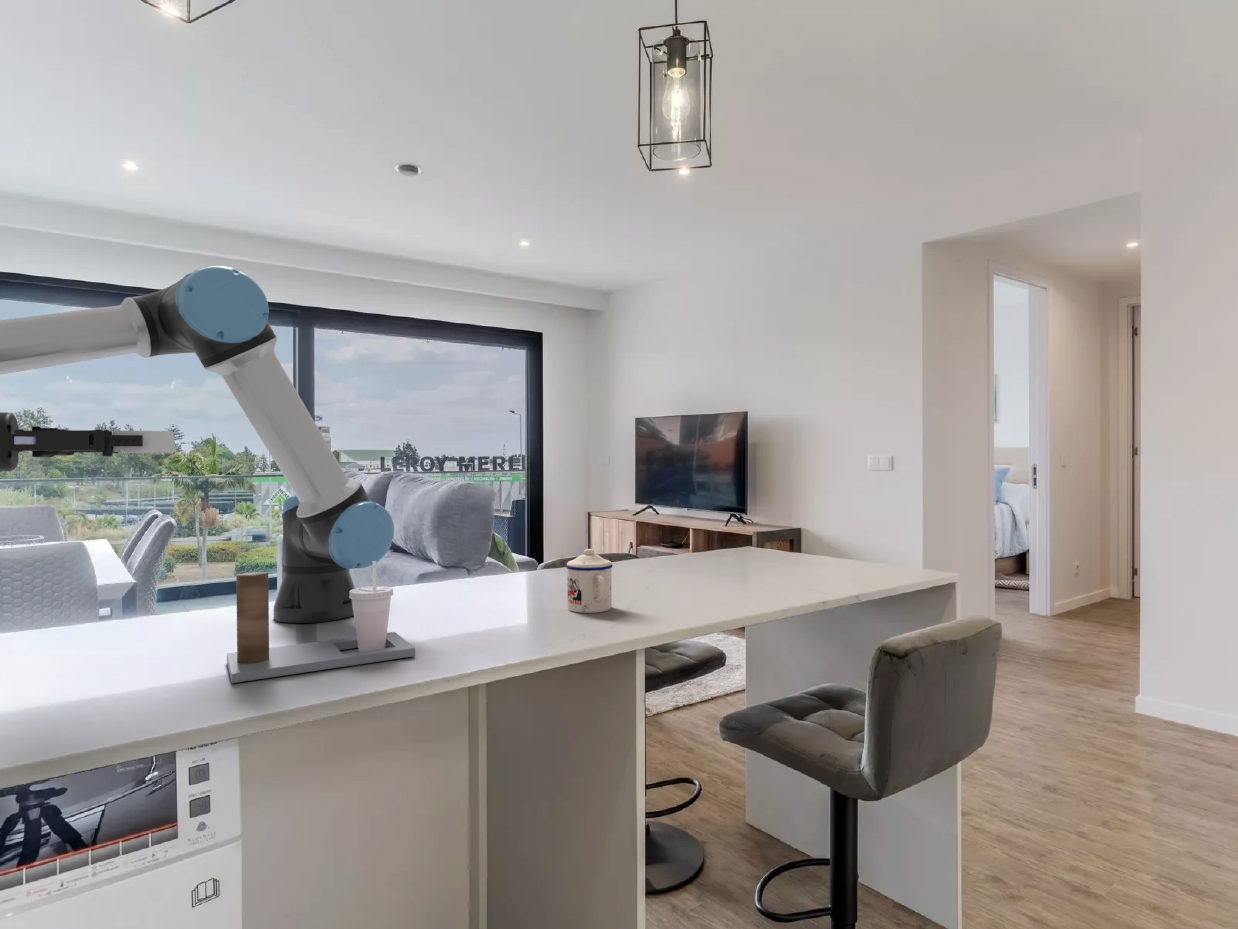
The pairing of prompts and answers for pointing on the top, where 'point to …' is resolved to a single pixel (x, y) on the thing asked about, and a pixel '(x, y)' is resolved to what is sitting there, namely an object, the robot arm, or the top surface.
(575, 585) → the teacup with lid
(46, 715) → the top surface
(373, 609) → the smoothie
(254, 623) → the cup holder tray
